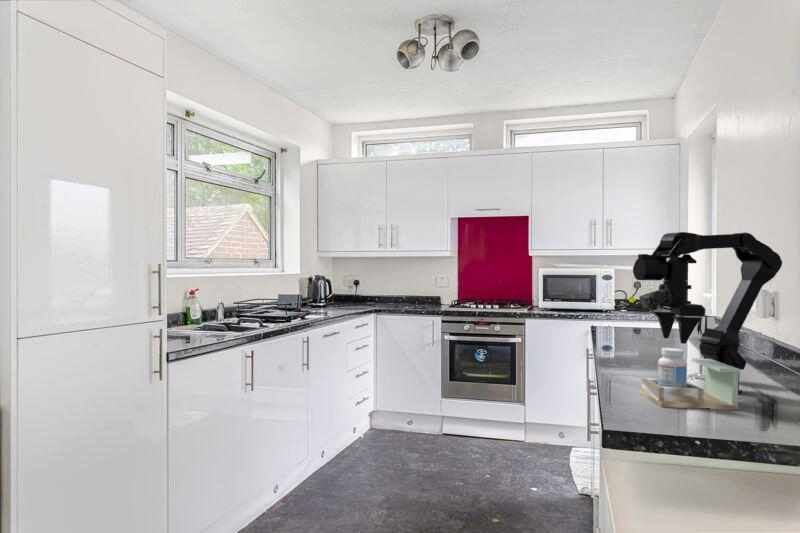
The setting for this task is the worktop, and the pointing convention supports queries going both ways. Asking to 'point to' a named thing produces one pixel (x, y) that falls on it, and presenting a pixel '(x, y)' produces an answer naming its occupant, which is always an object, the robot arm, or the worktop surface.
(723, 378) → the awning
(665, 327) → the robot arm
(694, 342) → the wineglass
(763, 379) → the worktop surface
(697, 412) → the worktop surface
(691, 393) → the socket board
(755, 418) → the worktop surface
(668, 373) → the pill bottle
